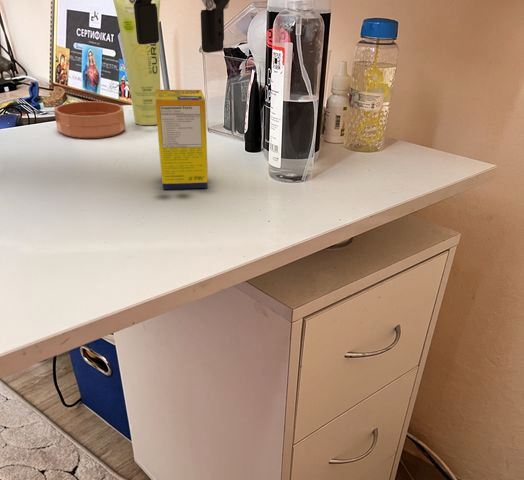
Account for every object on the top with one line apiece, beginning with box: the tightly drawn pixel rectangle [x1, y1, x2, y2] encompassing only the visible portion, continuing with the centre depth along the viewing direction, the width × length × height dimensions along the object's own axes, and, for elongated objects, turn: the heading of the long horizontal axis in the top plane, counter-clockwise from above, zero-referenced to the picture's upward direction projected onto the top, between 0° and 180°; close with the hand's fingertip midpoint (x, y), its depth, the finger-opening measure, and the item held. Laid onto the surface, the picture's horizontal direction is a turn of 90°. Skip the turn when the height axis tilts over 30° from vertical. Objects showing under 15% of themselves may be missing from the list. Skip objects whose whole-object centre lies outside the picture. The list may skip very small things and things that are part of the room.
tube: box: [112, 0, 161, 126], centre depth 90 cm, size 6×5×20 cm
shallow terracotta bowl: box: [53, 100, 126, 139], centre depth 89 cm, size 11×11×4 cm
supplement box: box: [156, 89, 209, 190], centre depth 68 cm, size 6×6×11 cm
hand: (179, 47), depth 62 cm, fingers open, 9 cm apart
